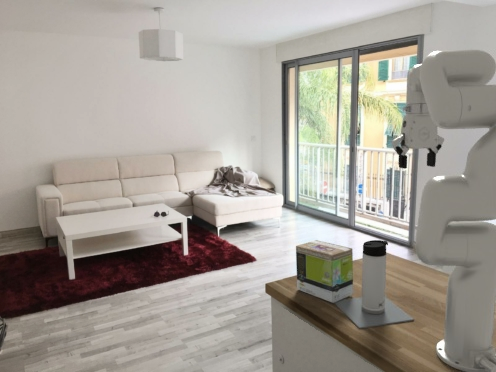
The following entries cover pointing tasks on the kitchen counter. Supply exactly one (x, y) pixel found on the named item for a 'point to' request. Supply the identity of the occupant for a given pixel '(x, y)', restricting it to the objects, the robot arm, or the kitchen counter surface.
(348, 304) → the mat
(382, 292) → the travel mug
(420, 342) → the kitchen counter surface
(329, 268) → the tea box
